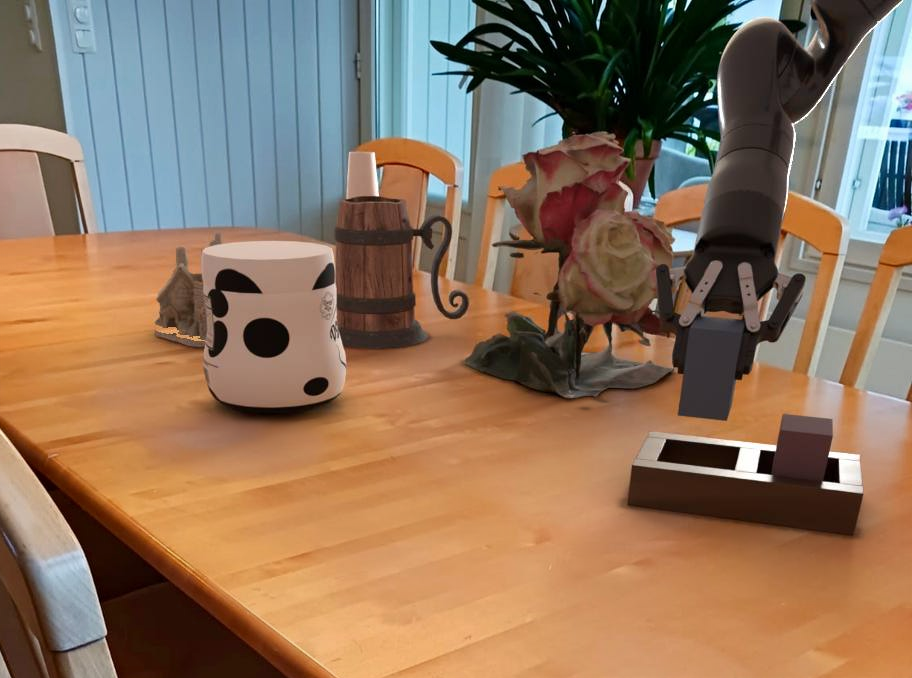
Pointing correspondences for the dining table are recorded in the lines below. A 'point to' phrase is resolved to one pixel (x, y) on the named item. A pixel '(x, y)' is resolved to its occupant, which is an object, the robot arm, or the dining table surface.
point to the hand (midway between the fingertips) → (710, 371)
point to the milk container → (272, 326)
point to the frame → (743, 484)
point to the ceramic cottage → (184, 302)
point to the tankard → (383, 273)
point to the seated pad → (803, 447)
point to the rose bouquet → (581, 272)
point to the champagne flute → (362, 175)
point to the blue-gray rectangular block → (710, 368)
